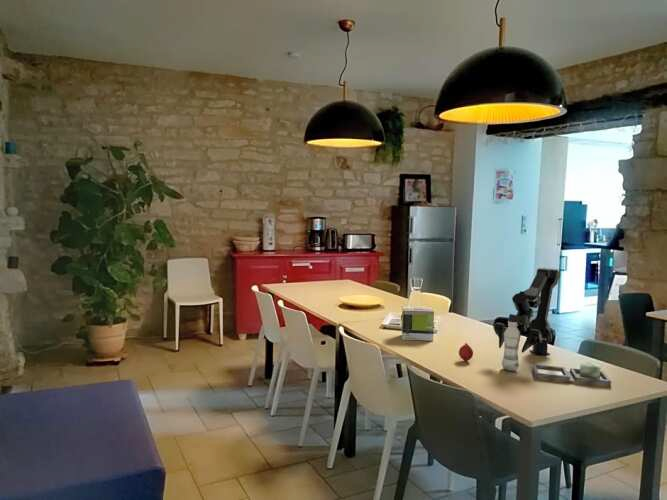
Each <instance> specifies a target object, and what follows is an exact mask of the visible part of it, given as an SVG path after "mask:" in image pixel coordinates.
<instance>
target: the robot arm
mask: <svg viewBox="0 0 667 500" xmlns="http://www.w3.org/2000/svg"><path fill="white" fill-rule="evenodd" d="M560 278H561V271H559V269H558V268H549V267H538V268H537V270H536V273H535V276H534V279H533V280H532V282H531V283H530V286H529V288H527V289H526V290H523V291H522V290H521V291H519V292H518V293H515V294H514V295H513V296H512V298H511V299H512V303H513V305H514V308H515V310H516V312H517V313H516V314H511V313H509V315H508V320H507V322H508V321H509V322H518V327H517V329H518V330H519V332H520V335H521V336H522V337H526V338H525V341H524V344H523V346H522V348H521V354H522V353H525V352H526V351H527V350H529V348H531V347H532V349H530V350H529V353H532V354H534V355H536V356H547V355H549V356H550V355H551V353H549V352H548V345H549V344H548V343H551V342H553V341H552V340H553V335H552V332H551V329H550V328H551V325H550V323H549V321H548V317H549V311H550V306H551V300H552V295H553V290H554V288H555V287H556V286H557V285H558V283H559V280H560ZM532 308H533V309H537V311H536V317H534V314H533V313H534V311H533V309H532ZM533 317H534V319H533ZM531 318H532V319H531ZM492 328H493V331H494V333H495V335H496V336H497V337H498V347H499V349H501V348H502V347H503V344H504V332H505V330H506V329H507V328H508V327H506V324H505V323H501V322H495V323H494V324H493V327H492ZM527 329H528V331H527ZM521 336H520V337H521Z"/></svg>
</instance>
